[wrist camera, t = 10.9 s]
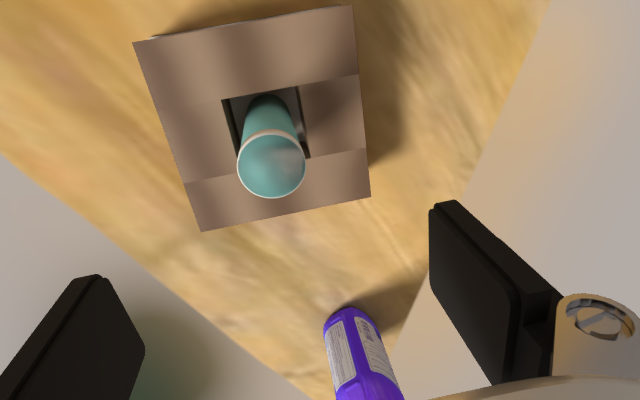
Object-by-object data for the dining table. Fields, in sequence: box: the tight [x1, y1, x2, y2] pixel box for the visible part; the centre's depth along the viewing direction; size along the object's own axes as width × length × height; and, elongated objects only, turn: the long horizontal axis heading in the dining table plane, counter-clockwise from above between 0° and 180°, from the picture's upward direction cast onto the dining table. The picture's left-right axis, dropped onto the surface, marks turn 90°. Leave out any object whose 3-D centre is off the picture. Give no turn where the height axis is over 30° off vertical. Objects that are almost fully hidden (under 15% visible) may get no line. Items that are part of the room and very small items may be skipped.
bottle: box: [323, 307, 404, 400], centre depth 34 cm, size 7×6×17 cm
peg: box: [237, 94, 306, 198], centre depth 24 cm, size 4×4×12 cm
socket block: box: [132, 5, 371, 232], centre depth 28 cm, size 14×14×5 cm
